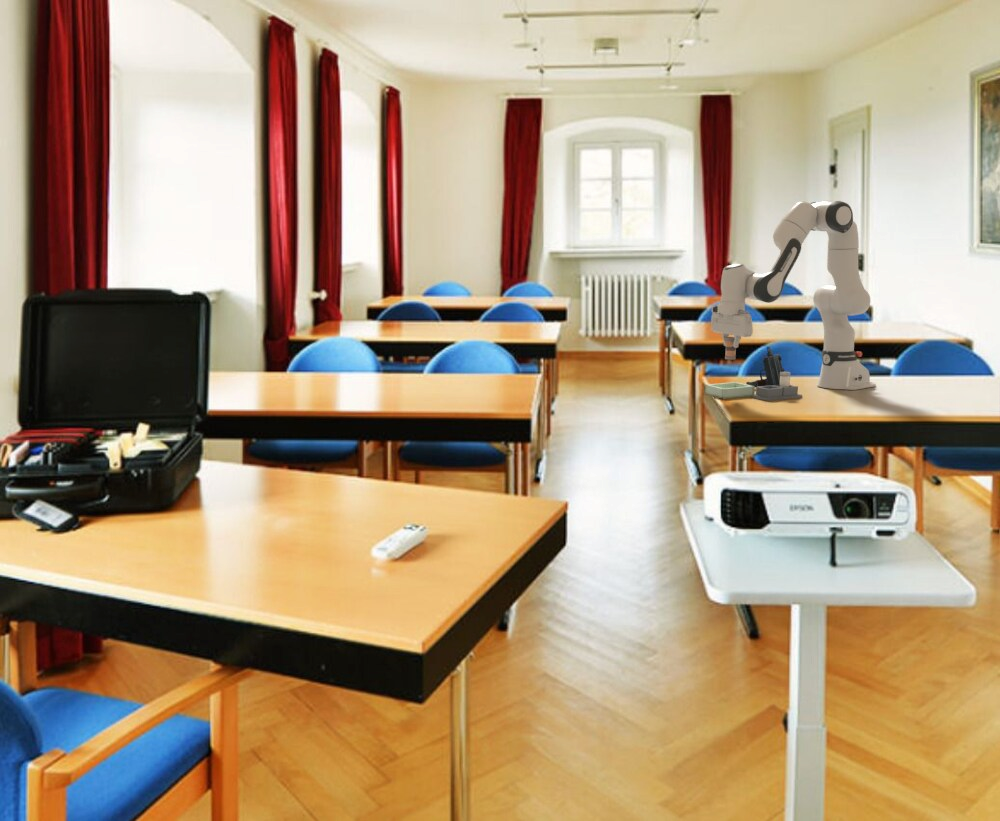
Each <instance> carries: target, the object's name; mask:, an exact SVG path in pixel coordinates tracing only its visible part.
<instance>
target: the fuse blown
mask: <svg viewBox="0 0 1000 821" xmlns="http://www.w3.org/2000/svg"><path fill="white" fill-rule="evenodd" d="M734 340H735V338H734V336H728V337H726V346H725V356H724V359H725V360H729V361H733V360H734V361H735V360H736V357H737V355H736V351H737V350H736V349H737V348H734V347H732V343H734Z"/></svg>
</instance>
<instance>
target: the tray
mask: <svg viewBox="0 0 1000 821" xmlns="http://www.w3.org/2000/svg"><path fill="white" fill-rule="evenodd" d="M704 387H705V388H704V395H706V396H710V397H714V398H717V399H723V400H724V399H725V400H726V399H727V400H728V399H736V398H737V399H738V398H747V397H751V395H753V394H755V388H756V387H755V386H751V385H747V384H746V383H741V382H737V381H731V382H723V383H722V382H721V383H709V384H705V385H704ZM754 387H755V388H754Z"/></svg>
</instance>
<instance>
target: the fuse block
mask: <svg viewBox="0 0 1000 821" xmlns="http://www.w3.org/2000/svg"><path fill="white" fill-rule="evenodd" d="M798 388H799V386H796V385H793V384H792V385H791V384H790V387H780V385H772V386H771V385H770V386H759V387H755V393H754V394H753V395H751V396H750V397H751V398H753V399H757V400H760V401H765V402H772V401H782V400H791V399H802V398H803V394H800V393H799V392H798Z"/></svg>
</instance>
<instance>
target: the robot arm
mask: <svg viewBox="0 0 1000 821" xmlns="http://www.w3.org/2000/svg"><path fill="white" fill-rule="evenodd" d="M811 231H817V232H825V233H827V235H828V241H827V258H826V260H827V261H826V263H827V264H826V269H827V271H828V272H829V274H830V275H831V277H832V279H833V282H834V284H826V285H822V286H819V288H817V289H816V290H815V292H814V294H813V297H812V298H813V299H812V300H813V305H814V306H815V308H816V309H817V310H818V312H819V314H820V317H821V322H822V324H823V349H822V353H821V360H822V364H821V367H820V374H819V379H818V382H817V387H820V388H824V389H831V390H847V391H850V390H851V391H857V390H861V389H867V388H872V387H873V388H874V387H877V384H876V383H875V382H873V381H870V379H871V377H870V370H869V369H867V368H866V367H865V366H864V365H863V364H861V363H860V362H859V361H858V359H857V358H861V357H862V356H863V353H862V351H855V350H854V349H855V335H856V334H855V332H856V331H855V329H854V327H853V326H852V325H851V323H850V321H849V318H848V316H858V315H862V314H864V313H867V311H868V309H869V307H870V306H871V296H870V294H869V293H868V291H867V290H866V288H865V287H864V284H863V283H862V279H861V277H860V276H861V274H860V272H859V270H860V269H859V247H860V246H859V241H860V240H859V232H858V227H857V223H856V221H855V220H854V213H853V209H852V207H851V206H850V204H849V203H847V202H844V201H842V200H823V201H817V202H816V201H814V202H808V201H799V202H797V203H795V204H794V205H793V206H792V207H791V208H790V209H789V210H788V212H787V213H785V215H784V216H783V217H782V218H781V220H780V221H779V223H778V224H777V226H776V228H775V229H774V232H773V234H772V239H773V243H774V244H775V246H776V247H777V248H778V250H780V253H779V255H778V257H777V258H776V260H775V263H774V264H773V266H772V268H771V269H770V271H768V272H766V273H758V272H755V271H752V270H750V269H749V268H747V267H746V265H745V264H742V263H735V264H734V263H733V264H730V265H726V266H725V267H724V268H723V270H722V274H721V279H720V291H721V292H720V293H721V297H720V300H719V301H720V303H717V304H716V305H713V306H711V313H712V314H711V316H710V317H711V318H710V328H711V331H712V332H713V333H717V334H721V338H722V341H723V346H724V347H726V337H730V336H733V337H734V338H735V340H734V343H732V347H734V348H736V349H737V348H739V344H740V341H741V340H742V338H747V337H750V338H751V337H752V336H753V332H754V331H753V330H754V329H753V328H754V327H753V320H752V315H751V312H750V311H749V310H746V299H748V300H753V301H760V302H764V303H766V304H767V303H768V304H769V303H773V302H775V301H776V300H778V299H779V297H780V296H781V295H782V292H783V290H784V286H785V282H786V281H787V278H788V276H789V274H790V273H791V271H792V269H793V267H794V265H795V264H796V261H797V260H798V258H799V256H800V253H801V251H802V245H803V243H804V242H805V240H806V238H807V237H808V235H809V234H810V232H811ZM729 335H730V336H729Z"/></svg>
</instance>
